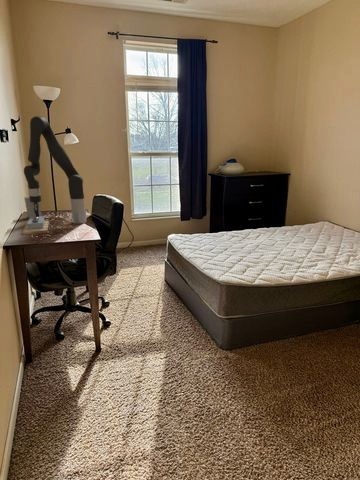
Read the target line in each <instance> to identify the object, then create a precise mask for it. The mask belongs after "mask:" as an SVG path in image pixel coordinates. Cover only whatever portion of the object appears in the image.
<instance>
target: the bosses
mask: <svg viewBox="0 0 360 480" xmlns="http://www.w3.org/2000/svg"><path fill="white" fill-rule="evenodd" d="M33 219H34V220H32V222H34V223H38V219H39V217H33Z"/></svg>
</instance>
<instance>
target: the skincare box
mask: <svg viewBox="0 0 360 480" xmlns="http://www.w3.org/2000/svg"><path fill="white" fill-rule="evenodd" d="M24 202H25V207H26V213H27V217H28V219H29V218H30V217H36V214H35V212H34V207H33V204H34V203H33V202H30V199H29V196H26V197H24ZM40 203H41V202H38V204H39V205H40V206H39V208H40V210H39V217H41V216H43V214H42V209H41V204H40Z"/></svg>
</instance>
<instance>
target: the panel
mask: <svg viewBox="0 0 360 480" xmlns="http://www.w3.org/2000/svg"><path fill="white" fill-rule="evenodd" d="M32 220H34V219H33V217H30V218H29V217H28V221H27V222H28V223H27V222H26V223H27V227H28V229H39V228H43V227H44V222H45V221H46V220H45V215H42V216H41V217H39V219H38V223H34V222H32Z"/></svg>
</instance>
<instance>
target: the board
mask: <svg viewBox="0 0 360 480" xmlns="http://www.w3.org/2000/svg"><path fill="white" fill-rule="evenodd" d="M27 223H28V221H26V223H25V226H24V228H23V230H22V235H34V234H35V235H36V234H37V235H38V234H47V233H49V232H48V230H49V224H50V221H49V219H47V220H45V222H44V227H43V228H39V229H28V227H27Z"/></svg>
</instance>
